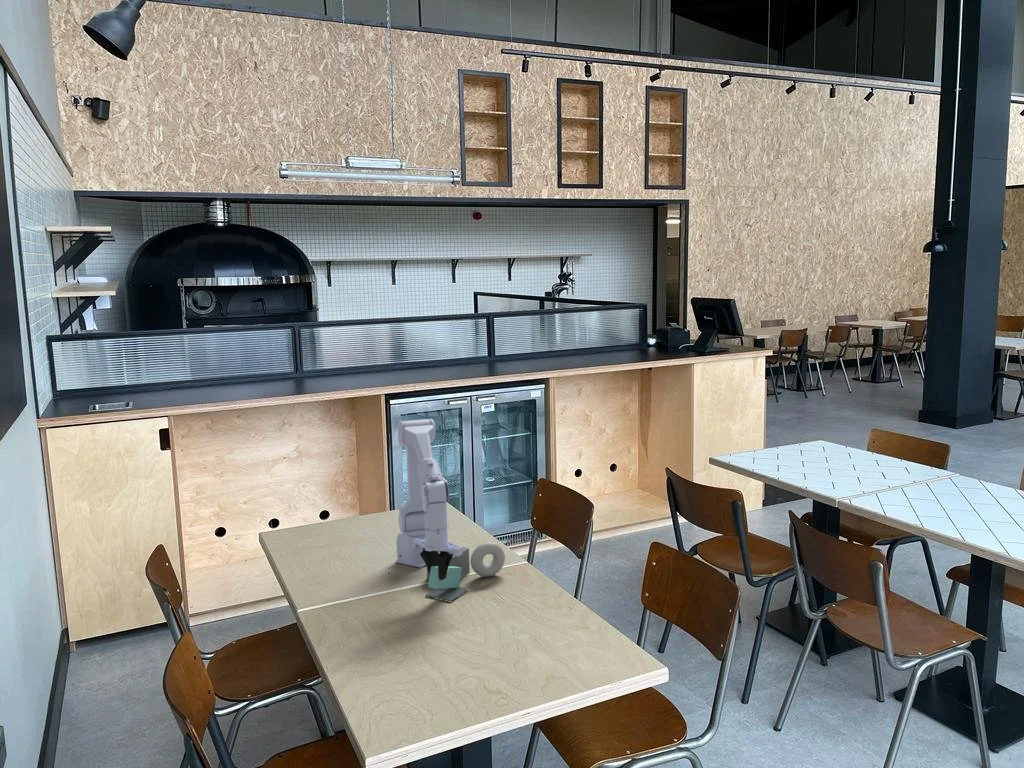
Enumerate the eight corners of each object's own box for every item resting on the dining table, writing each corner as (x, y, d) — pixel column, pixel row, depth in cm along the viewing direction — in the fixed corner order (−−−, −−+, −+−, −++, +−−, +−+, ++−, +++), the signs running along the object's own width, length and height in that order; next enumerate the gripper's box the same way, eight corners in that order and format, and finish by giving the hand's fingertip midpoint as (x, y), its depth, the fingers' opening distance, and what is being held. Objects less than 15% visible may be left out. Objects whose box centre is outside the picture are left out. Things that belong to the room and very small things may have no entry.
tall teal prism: (427, 586, 196) (431, 566, 197) (451, 585, 205) (454, 566, 206) (435, 588, 195) (438, 568, 195) (458, 587, 204) (461, 567, 205)
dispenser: (425, 579, 212) (424, 555, 211) (446, 567, 220) (445, 543, 219) (449, 584, 208) (448, 560, 207) (469, 572, 216) (468, 548, 215)
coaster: (425, 596, 200) (425, 594, 200) (443, 585, 207) (443, 583, 207) (451, 602, 196) (450, 600, 196) (468, 591, 203) (468, 589, 203)
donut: (473, 581, 209) (472, 546, 208) (469, 577, 212) (468, 542, 211) (507, 575, 213) (506, 541, 212) (502, 571, 216) (502, 537, 215)
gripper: (404, 527, 196) (406, 578, 198) (450, 536, 189) (452, 588, 190) (420, 519, 202) (422, 568, 204) (466, 527, 195) (467, 578, 196)
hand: (438, 577), depth 197 cm, fingers closed on tall teal prism, 2 cm apart
